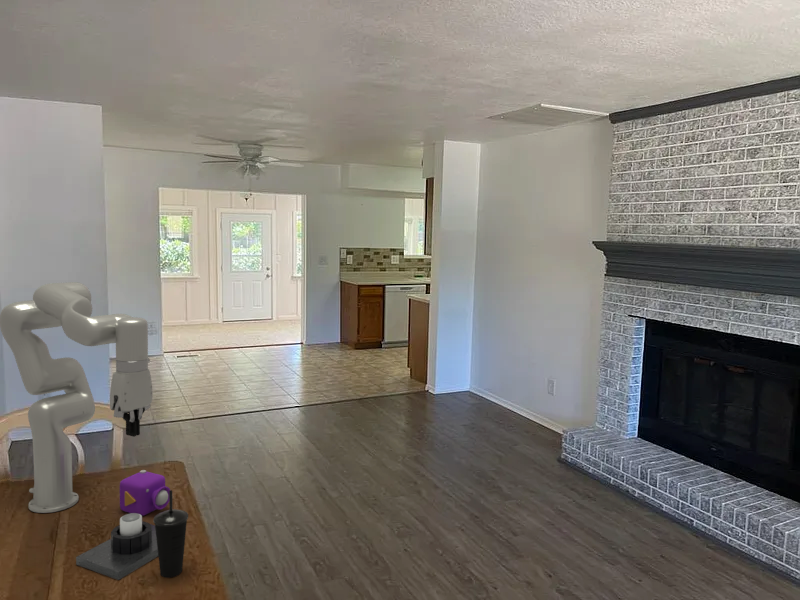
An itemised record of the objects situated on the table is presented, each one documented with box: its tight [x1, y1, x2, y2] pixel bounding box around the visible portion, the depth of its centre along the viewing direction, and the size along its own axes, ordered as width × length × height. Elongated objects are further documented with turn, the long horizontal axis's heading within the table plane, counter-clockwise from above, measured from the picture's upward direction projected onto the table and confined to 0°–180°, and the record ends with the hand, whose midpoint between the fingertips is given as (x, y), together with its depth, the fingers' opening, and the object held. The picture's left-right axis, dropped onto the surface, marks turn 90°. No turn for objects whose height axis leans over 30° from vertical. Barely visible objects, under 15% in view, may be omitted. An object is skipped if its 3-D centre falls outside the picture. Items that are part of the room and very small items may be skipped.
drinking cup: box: [152, 489, 189, 579], centre depth 140 cm, size 8×8×20 cm
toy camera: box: [119, 469, 171, 517], centre depth 172 cm, size 11×14×10 cm
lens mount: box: [75, 520, 159, 581], centre depth 149 cm, size 14×20×6 cm
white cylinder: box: [119, 513, 143, 536], centre depth 149 cm, size 5×5×7 cm
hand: (132, 434), depth 156 cm, fingers closed
